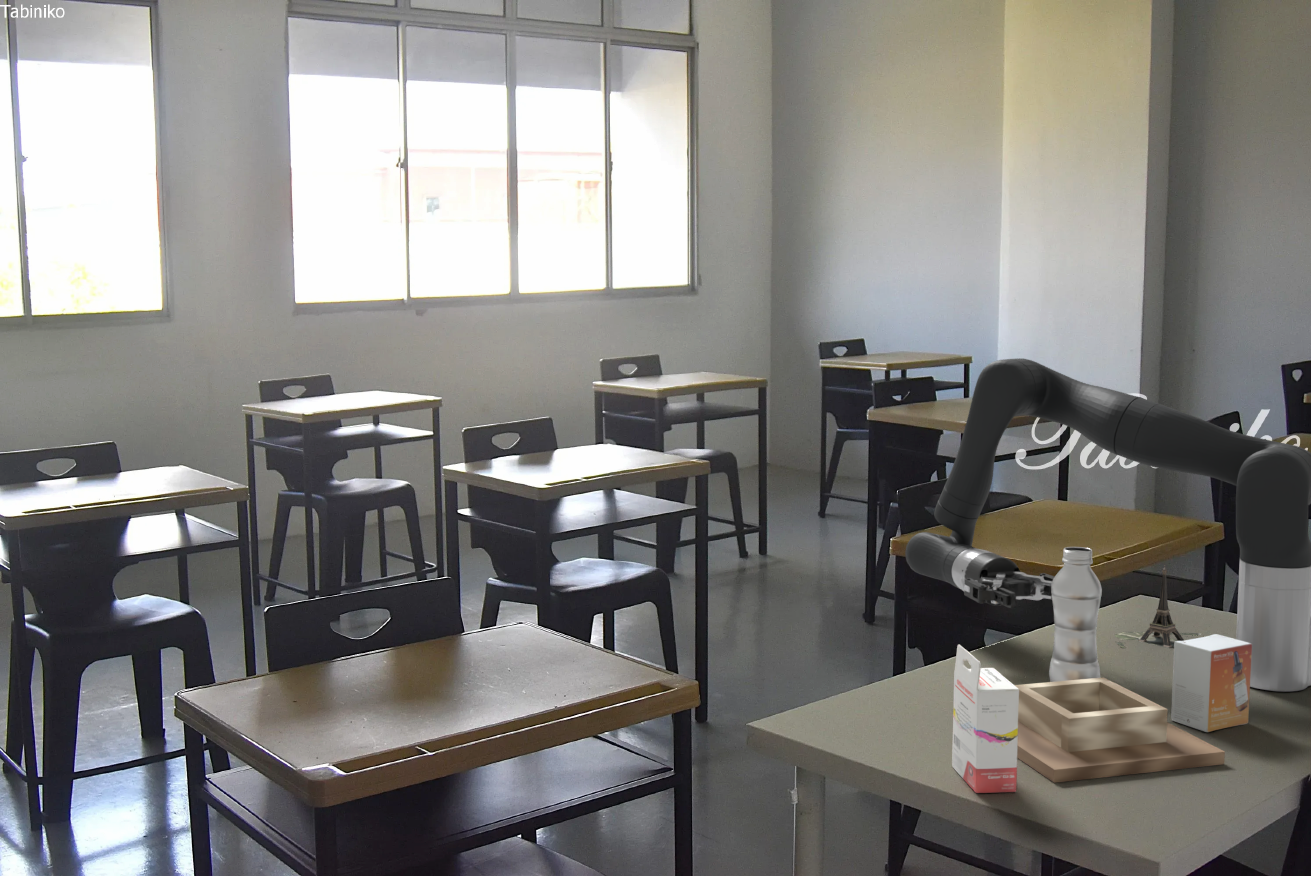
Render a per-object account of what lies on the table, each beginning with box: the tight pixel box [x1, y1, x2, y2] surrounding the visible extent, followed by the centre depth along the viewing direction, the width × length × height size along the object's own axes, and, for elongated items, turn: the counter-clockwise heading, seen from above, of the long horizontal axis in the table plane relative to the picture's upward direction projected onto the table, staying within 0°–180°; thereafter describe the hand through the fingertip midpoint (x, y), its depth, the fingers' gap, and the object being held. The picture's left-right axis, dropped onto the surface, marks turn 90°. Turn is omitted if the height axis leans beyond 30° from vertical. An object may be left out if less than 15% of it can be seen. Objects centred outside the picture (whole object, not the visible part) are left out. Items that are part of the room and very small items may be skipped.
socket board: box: [1014, 677, 1226, 783], centre depth 153 cm, size 22×22×6 cm
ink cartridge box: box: [951, 644, 1019, 794], centre depth 141 cm, size 9×5×15 cm, turn 5°
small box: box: [1170, 633, 1252, 733], centre depth 159 cm, size 8×6×10 cm
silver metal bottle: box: [1048, 546, 1103, 682], centre depth 171 cm, size 6×7×20 cm
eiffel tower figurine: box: [1114, 566, 1202, 649], centre depth 197 cm, size 15×10×13 cm
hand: (1040, 599), depth 180 cm, fingers open, 8 cm apart
